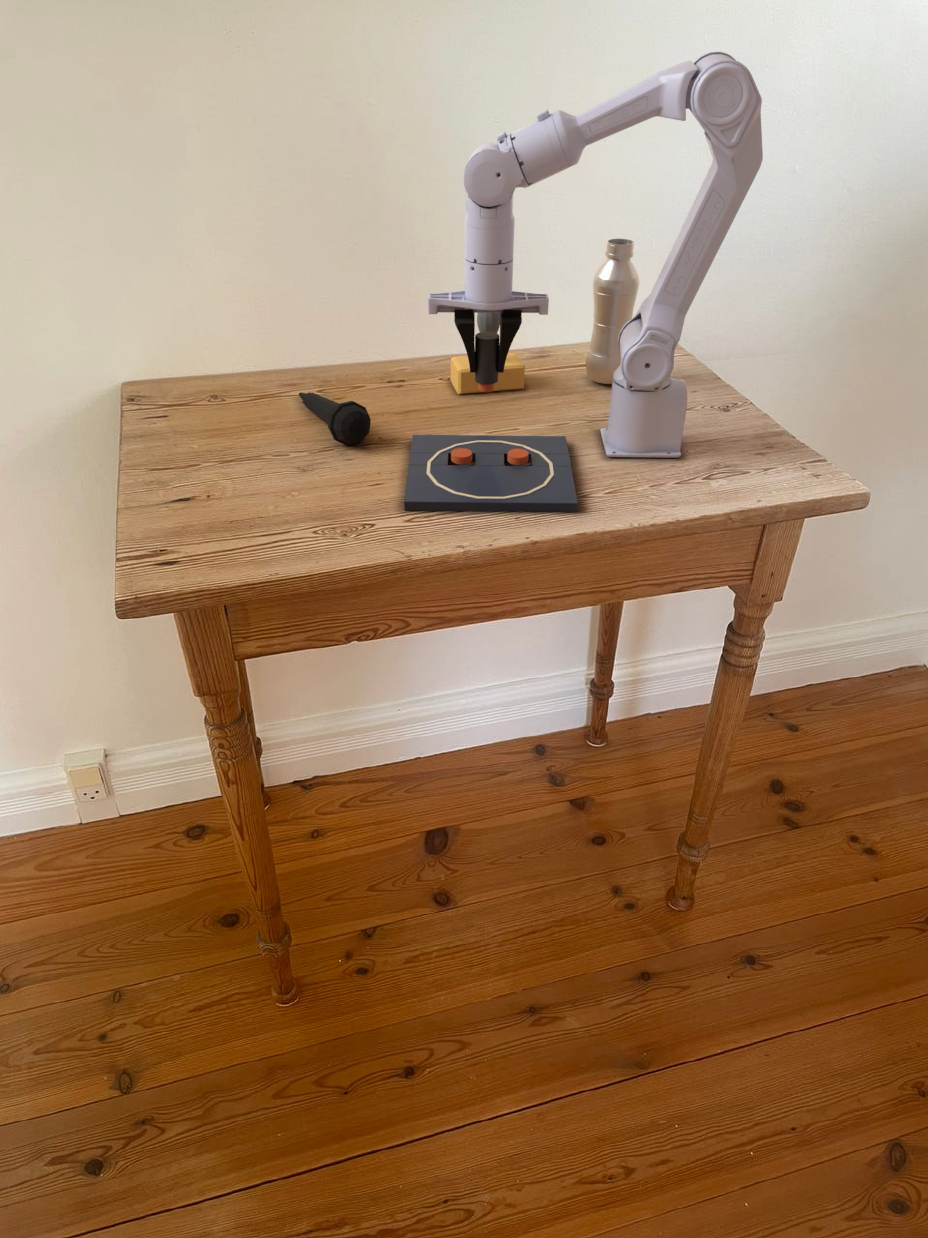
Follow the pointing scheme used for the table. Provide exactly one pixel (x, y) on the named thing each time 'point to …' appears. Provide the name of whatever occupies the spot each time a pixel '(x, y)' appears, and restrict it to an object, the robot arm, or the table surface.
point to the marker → (486, 360)
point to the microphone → (340, 417)
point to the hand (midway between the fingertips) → (486, 369)
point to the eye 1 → (461, 456)
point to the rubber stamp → (506, 380)
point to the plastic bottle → (611, 308)
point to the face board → (490, 475)
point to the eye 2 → (518, 456)
